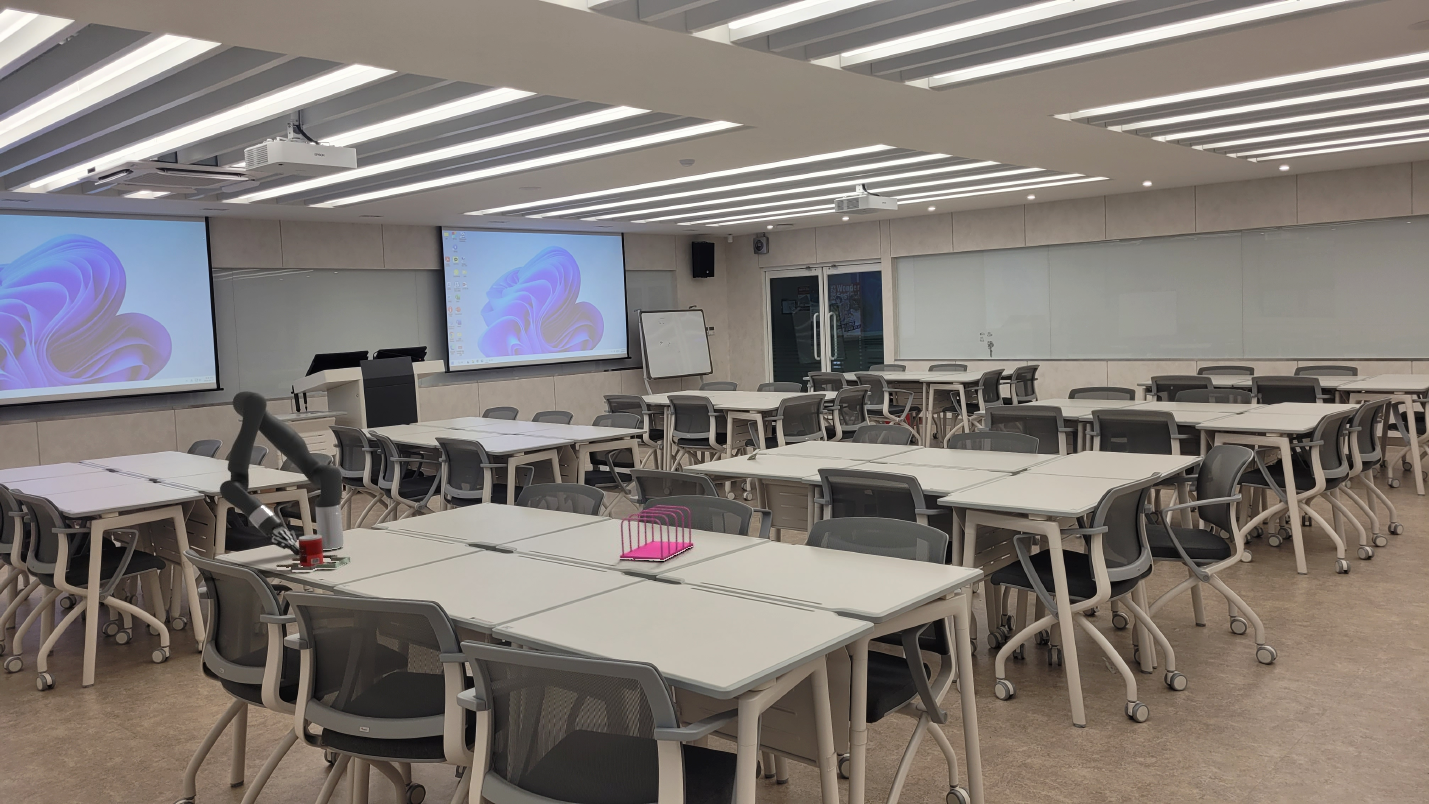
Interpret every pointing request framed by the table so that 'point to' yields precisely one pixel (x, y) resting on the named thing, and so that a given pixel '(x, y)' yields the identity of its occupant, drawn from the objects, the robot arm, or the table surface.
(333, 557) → the trap track
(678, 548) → the file sorter
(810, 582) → the table surface
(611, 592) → the table surface
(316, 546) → the canned food
